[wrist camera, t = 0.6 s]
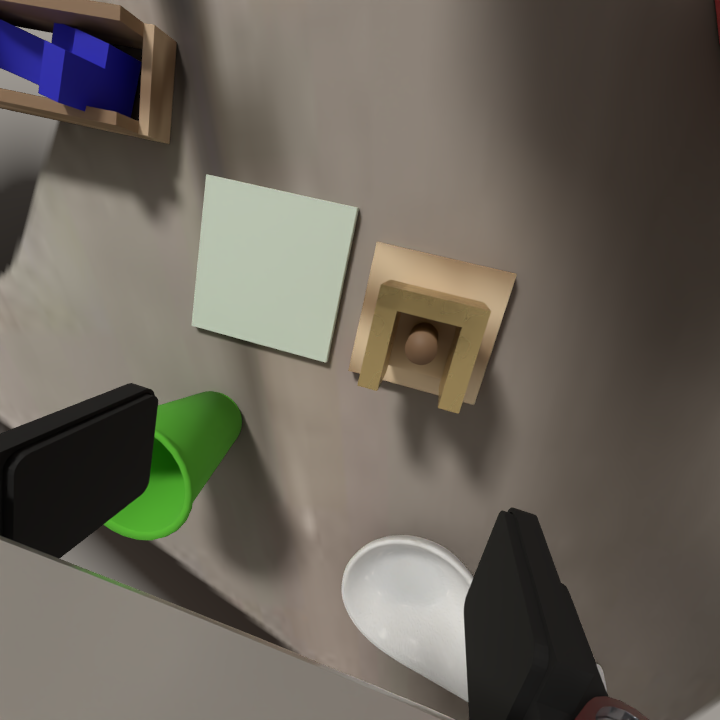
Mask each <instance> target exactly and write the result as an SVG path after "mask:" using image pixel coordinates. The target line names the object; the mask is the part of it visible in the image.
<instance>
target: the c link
mask: <svg viewBox="0 0 720 720" xmlns="http://www.w3.org/2000/svg"><path fill="white" fill-rule="evenodd" d="M401 312H403V313H407V314H411V315H415V316H419V317H423V318H427V319H431V320H435V321H439V322H443V323H447V324H451V325H454V326H457V327H456V330H455V334H454V337H453V340H452V344H451V347H450V350H449V354H448V357H447V361H446V364H445V367H444V371H443V374H442V378H441V381H440V384H439V396H438V408H440V409H444V410H447V411H451V412H454V413H458V414H459V411H460V408H461V405H462V402H463V399H464V396H465V393H466V389H467V386H468V383H469V380H470V377H471V374H472V370H473V367H474V364H475V361H476V358H477V355H478V351H479V348H480V345H481V342H482V339H483V336H484V333H485V329H486V326H487V323H488V320H489V317H490V314H491V310H490V309H489V308H488V306H487V305H486V304H485V302H481V301H477V300H473V299H469V298H465V297H460V296H456V295H452V294H448V293H444V292H440V291H436V290H432V289H427V288H423V287H419V286H415V285H411V284H407V283H403V282H399V281H394V280H388V281H386V282H384V283H382V284H381V285H380V290H379V294H378V298H377V303H376V307H375V311H374V316H373V320H372V324H371V329H370V333H369V337H368V342H367V346H366V350H365V355H364V359H363V363H362V368H361V372H360V376H359V381H358V386H361V387H365V388H369V389H372V390H376V391H377V390H378V388H379V386H380V384H381V382H382V380H383V378H384V376H385V374H386V372H387V368H388V364H389V360H390V356H391V352H392V348H393V344H394V340H395V336H396V332H397V328H398V324H399V320H400V316H401Z"/></svg>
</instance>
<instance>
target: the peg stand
mask: <svg viewBox="0 0 720 720" xmlns="http://www.w3.org/2000/svg"><path fill="white" fill-rule="evenodd" d="M516 275H517V274H515V273H510V272H506V271H502V270H497V269H493V268H489V267H484V266H480V265H476V264H471V263H467V262H463V261H458V260H454V259H450V258H445V257H441V256H437V255H432V254H428V253H424V252H419V251H415V250H411V249H406V248H402V247H398V246H393V245H389V244H385V243H380V242H377V244H376V249H375V253H374V258H373V262H372V267H371V271H370V276H369V280H368V285H367V289H366V294H365V298H364V303H363V307H362V312H361V316H360V321H359V325H358V330H357V334H356V339H355V343H354V348H353V352H352V357H351V361H350V366H349V370H348V371H352V372H356V373H359V374H360V372H361V368H362V363H363V359H364V355H365V350H366V346H367V342H368V337H369V333H370V329H371V324H372V320H373V316H374V311H375V307H376V303H377V298H378V294H379V290H380V285H381V284H382V283H384V282H386V281H388V280H394V281H399V282H403V283H407V284H411V285H415V286H419V287H423V288H427V289H432V290H436V291H440V292H444V293H448V294H452V295H456V296H460V297H465V298H469V299H473V300H477V301H481V302H485V304H486V305H487V306H488V308H489V309H490V310H491V314H490V317H489V320H488V323H487V326H486V329H485V333H484V336H483V339H482V342H481V345H480V348H479V351H478V355H477V358H476V361H475V364H474V367H473V370H472V374H471V377H470V380H469V383H468V386H467V389H466V393H465V396H464V399H463V402H464V403H468V404H472V405H474V404H475V401H476V398H477V395H478V392H479V389H480V386H481V383H482V379H483V376H484V373H485V370H486V367H487V364H488V361H489V358H490V355H491V352H492V349H493V346H494V343H495V340H496V337H497V334H498V331H499V327H500V324H501V321H502V318H503V315H504V312H505V309H506V306H507V303H508V300H509V297H510V294H511V291H512V288H513V285H514V282H515V278H516ZM456 327H457V326H454V325H451V324H447V323H443V322H439V321H435V320H431V319H427V318H423V317H419V316H415V315H411V314H407V313H403V312H401V316H400V320H399V324H398V328H397V332H396V336H395V340H394V344H393V348H392V352H391V356H390V360H389V364H388V368H387V372H386V374H385V376H384V378H383V380H385V381H388V382H392V383H396V384H399V385H403V386H406V387H410V388H414V389H417V390H421V391H425V392H428V393H432V394H435V395H439V384H440V381H441V378H442V374H443V371H444V367H445V364H446V361H447V357H448V354H449V350H450V347H451V344H452V340H453V337H454V334H455V330H456Z"/></svg>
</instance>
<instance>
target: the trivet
mask: <svg viewBox="0 0 720 720" xmlns="http://www.w3.org/2000/svg"><path fill="white" fill-rule="evenodd" d="M358 211H359V208H356V207H352V206H347V205H343V204H338V203H334V202H329V201H325V200H320V199H316V198H311V197H307V196H302V195H298V194H293V193H288V192H284V191H279V190H275V189H270V188H266V187H261V186H257V185H252V184H248V183H243V182H239V181H234V180H230V179H225V178H221V177H216V176H211V175H207V174H206V183H205V194H204V204H203V214H202V224H201V234H200V245H199V255H198V265H197V275H196V285H195V295H194V306H193V316H192V326H195V327H198V328H202V329H206V330H209V331H213V332H217V333H220V334H224V335H227V336H231V337H235V338H238V339H242V340H246V341H249V342H253V343H256V344H260V345H264V346H267V347H271V348H275V349H278V350H282V351H286V352H289V353H293V354H296V355H300V356H304V357H307V358H311V359H315V360H318V361H322V362H325V363H326V362H327V361H328V358H329V353H330V348H331V343H332V339H333V334H334V329H335V324H336V319H337V314H338V309H339V304H340V299H341V295H342V290H343V285H344V280H345V275H346V270H347V265H348V260H349V255H350V251H351V246H352V241H353V236H354V231H355V226H356V221H357V216H358Z"/></svg>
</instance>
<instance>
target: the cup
mask: <svg viewBox="0 0 720 720" xmlns="http://www.w3.org/2000/svg"><path fill="white" fill-rule="evenodd" d="M241 426H242V417H241V413H240V410H239V408H238V407H237V405H236V404H235V403H234V401H233V400H232V399H230V398H229V397H228V396H226V395H224V394H222V393H218V392H212V391H209V392H202V393H199V394H196V395H192V396H189V397H186V398H182V399H179V400H176V401H172V402H169V403H166V404H162V405H159V406H158V409H157V418H156V427H155V436H154V444H153V453H152V462H151V471H150V480H149V484H148V487H147V488H146V490H145V492H144V493H143V494H142V495H141V496H139V497H138V498H137V499H136V500H134V501H133V502H132V503H130V504H129V505H128V506H127V507H125V508H124V509H123V510H121V511H120V512H119V513H118V514H116V515H115V516H114V517H112V518H111V519H110V520H108V521H107V522H106V523H105V524H104V525H105V526H106V527H108V528H109V529H110V530H112V531H115V532H117V533H119V534H121V535H123V536H125V537H129V538H133V539H137V540H154V539H158V538H163V537H166V536H168V535H170V534H172V533H173V532H175V531H177V530H178V529H179V528H180V527H181V526H182V525H183V524H184V523H185V522H186V520H187V518H188V516H189V513H190V511H191V509H192V503H193V501H194V500H195V499H196V497H197V496H198V494H199V493H200V491H201V490H202V488H203V487H204V485H205V484H206V483H207V481H208V480H209V478H210V477H211V475H212V474H213V472H214V471H215V469H216V468H217V467H218V465H219V464H220V462H221V461H222V459H223V458H224V456H225V455H226V453H227V452H228V451H229V449H230V448H231V446H232V445H233V443H234V442H235V440H236V439H237V437H238V436H239V433H240V431H241Z"/></svg>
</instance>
